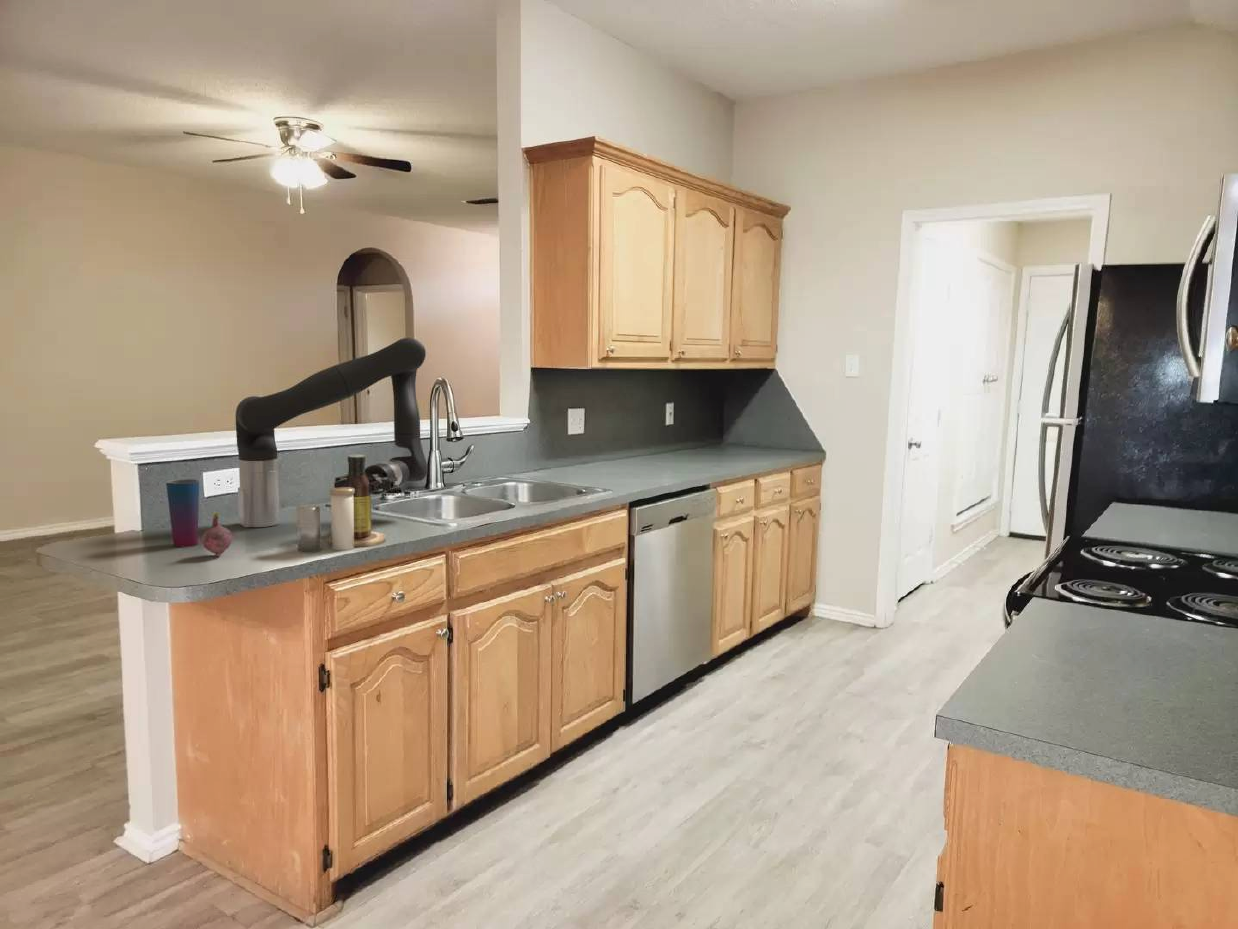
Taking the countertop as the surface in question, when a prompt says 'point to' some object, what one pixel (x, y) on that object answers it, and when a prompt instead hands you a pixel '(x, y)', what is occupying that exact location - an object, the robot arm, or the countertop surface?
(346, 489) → the cream jar
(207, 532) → the vegetable
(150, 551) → the countertop surface
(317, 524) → the spice tin
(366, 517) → the sauce bottle
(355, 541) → the oak coaster
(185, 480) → the cup
